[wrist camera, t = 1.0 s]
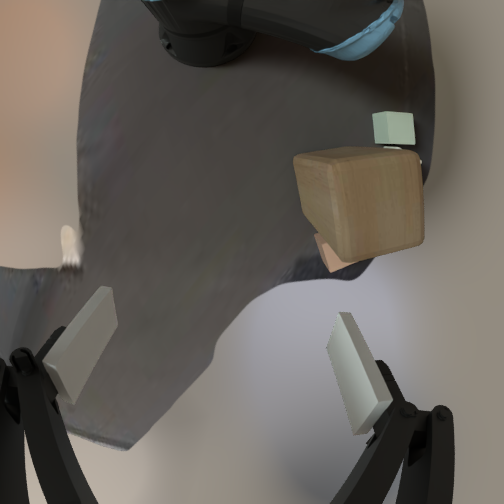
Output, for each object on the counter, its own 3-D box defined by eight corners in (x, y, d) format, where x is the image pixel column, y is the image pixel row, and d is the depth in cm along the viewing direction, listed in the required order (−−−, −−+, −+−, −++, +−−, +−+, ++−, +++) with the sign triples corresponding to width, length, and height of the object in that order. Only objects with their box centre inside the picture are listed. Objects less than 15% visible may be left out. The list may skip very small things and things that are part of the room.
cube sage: (372, 114, 37) (386, 111, 33) (397, 115, 37) (412, 113, 33) (375, 143, 39) (389, 143, 35) (399, 143, 39) (415, 144, 34)
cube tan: (313, 234, 45) (321, 244, 40) (341, 223, 44) (351, 232, 40) (322, 260, 47) (330, 272, 42) (348, 249, 46) (358, 260, 41)
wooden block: (350, 145, 39) (422, 149, 21) (359, 205, 43) (427, 247, 24) (290, 155, 40) (327, 161, 21) (302, 216, 44) (342, 269, 25)
